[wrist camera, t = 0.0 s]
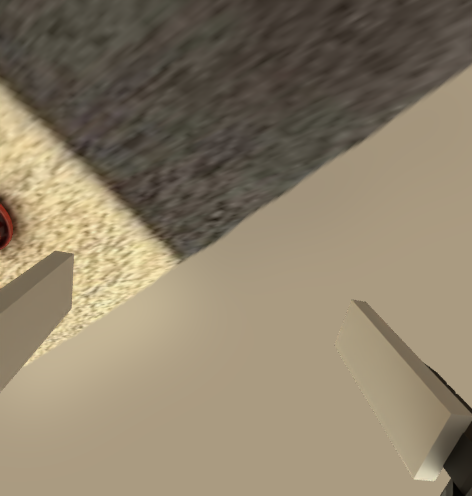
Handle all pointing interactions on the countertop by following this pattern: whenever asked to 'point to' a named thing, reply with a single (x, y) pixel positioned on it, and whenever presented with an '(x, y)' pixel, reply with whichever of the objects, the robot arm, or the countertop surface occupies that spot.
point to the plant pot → (5, 228)
